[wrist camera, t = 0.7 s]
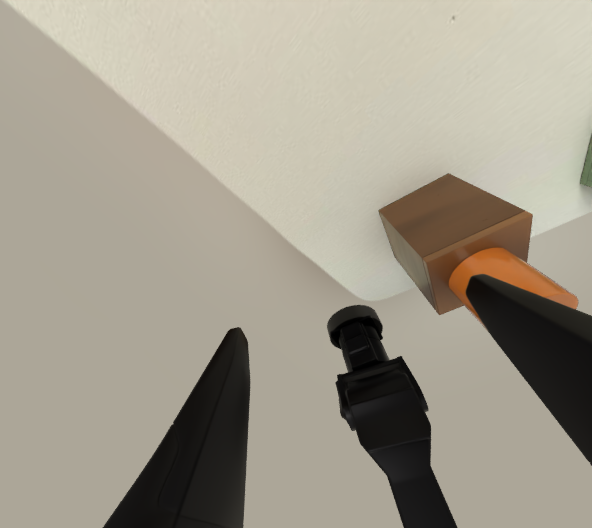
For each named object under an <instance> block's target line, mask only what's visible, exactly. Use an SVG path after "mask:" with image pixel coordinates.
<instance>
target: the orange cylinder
mask: <svg viewBox="0 0 592 528" xmlns="http://www.w3.org/2000/svg"><path fill="white" fill-rule="evenodd" d="M478 274H486V275H489V276H491V277H494V278H496V279H499V280H502V281H504V282H507V283H509V284H512V285H514V286H517V287H519V288H522V289H524V290H527V291H530V292H532V293H535V294H537V295H540V296H542V297H545V298H547V299H550V300H552V301H555V302H558V303H560V304H563V305H565V306H568V307H570V308H573V309H575V310H576V308H577V306H578V299H577V297H576V296H575V295H574V294H572V293H571V292H569V291H568V290H566V289H565V288H563V287H562V286H560V285H559V284H557V283H556V282H555V281H553V280H552V279H550V278H549V277H547V276H546V275H544V274H543V273H541V272H540V271H538V270H537V269H535V268H534V267H532V266H531V265H529V264H528V263H527V262H525V261H524V260H522V259H521V258H519V257H518V256H516V255H515V254H513V253H512V252H510V251H509V250H507V249H505V248H500V247H495V248H488V249H485V250H482V251H479V252H477V253H475V254H473V255H471V256H470V257H468V258H467V259H465V260H464V261H463V262H462V263H460V264H459V265H458V266H457V267H456V269H455V270H454V271H453V273H452V274H451V276H450V279H449V288H450V290H451V291H452V293H453V294H454V295H455V296H456V297H457V298H458V299H459V300H460V301H461V302H462V304H463V305H464V306H465V307H466V308H467V309H468V310H469V311H470V312H471V313H472V314H473V316H474V317H475V318H476V319H477V320H478V321H479V322H480V323H481V324H482V325H483V327H484V328H485V329H486V327H485V326H484V324H483V322H482V321H481V319H480V318H479V316H478V314H477V313H476V311H475V310H474V308H473V306H472V305H471V303H470V301H469V300H468V298H467V296H466V293H465V291H466V288H467V285H468V282H469V279H470V277H471V276H473V275H478ZM486 330H487V329H486ZM487 331H488V330H487Z"/></svg>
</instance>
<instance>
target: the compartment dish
mask: <svg viewBox="0 0 592 528" xmlns="http://www.w3.org/2000/svg"><path fill="white" fill-rule="evenodd" d="M580 184H583V185H586V186H589V187H592V137H591V141H590V145H589V149H588V153H587V157H586V161H585V165H584V169H583V173H582V178H581V182H580Z"/></svg>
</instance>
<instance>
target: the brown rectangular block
mask: <svg viewBox="0 0 592 528" xmlns="http://www.w3.org/2000/svg"><path fill="white" fill-rule="evenodd" d="M379 214H380V216H381V219H382V222H383V225H384V228H385V230H386V233H387V236H388V239H389V242H390V245H391V247H392V250H393V253H394V256H395V258H396V259H397V261H398V262H399V263H400V265H401V266H402V267H403V268H404V270H405V271H406V272H407V274H408V275H409V276H410V278H411V279H412V280H413V282H414V283H415V284H416V285H417V287H418V288H419V289H420V291H421V292H422V293H423V295H424V296H425V297H426V299H427V300H428V301H429V302H430V304H431V305H432V306H433V308H434V309H435V310H436V312H437V313H438V314H439V315H441V314H444V313H446V312H449V311H451V310H454V309H456V308H459V307H461V306H464V305H463V304H462V302H461V301H460V300H459V299H458V298H457V297H456V296H455V295H454V294H453V293H452V291H451V290H450V288H449V279H450V276H451V274H452V273H453V271H454V270H455V269H456V267H457V266H458V265H459V264H460V263H462V262H463V261H464V260H465V259H467V258H468V257H470V256H471V255H473V254H475V253H477V252H479V251H482V250H485V249H488V248H495V247H500V248H505V249H507V250H509V251H510V252H512V253H513V254H515V255H516V256H518V257H519V258H521V259H522V260H524V261H525V262H527V258H528V250H529V242H530V233H531V225H532V217H533V215H532V214H531V213H529V212H527V211H525V210H523V209H521V208H519V207H517V206H515V205H513V204H511V203H508V202H506V201H504V200H502V199H500V198H498V197H496V196H494V195H492V194H490V193H488V192H486V191H484V190H482V189H480V188H478V187H476V186H473V185H471V184H469V183H467V182H465V181H463V180H461V179H459V178H457V177H455V176H453V175H451V174H447V175H445V176H443V177H441V178H439V179H437V180H435V181H433V182H431V183H430V184H428V185H426V186H424V187H422V188H420V189H418V190H416V191H414V192H412V193H410V194H409V195H407V196H405V197H403V198H401V199H399V200H397V201H395V202H393V203H391V204H390V205H388V206H386V207H384V208H382V209H380V210H379Z"/></svg>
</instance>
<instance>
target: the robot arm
mask: <svg viewBox="0 0 592 528" xmlns="http://www.w3.org/2000/svg"><path fill="white" fill-rule="evenodd" d="M465 293H466V296H467V298H468V300H469V301H470V303H471V305H472V306H473V308H474V310H475V311H476V313H477V314H478V316H479V318H480V319H481V321H482V322H483V324H484V326H485V327H486V329H487V330H488V332H489V333H490V334H491V336H492V337H493V338H494V340H495V341H496V342H497V344H498V345H499V346H500V347H501V349H502V350H503V351H504V353H505V354H506V355H507V357H508V358H509V359H510V360H511V362H512V363H513V364H514V366H515V367H516V368H517V369H518V371H519V372H520V373H521V375H522V376H523V377H524V379H525V380H526V381H527V382H528V384H529V385H530V386H531V387H532V389H533V390H534V391H535V393H536V394H537V395H538V397H539V398H540V399H541V400H542V402H543V403H544V404H545V406H546V407H547V408H548V409H549V411H550V412H551V413H552V415H553V416H554V417H555V419H556V420H557V421H558V423H559V424H560V425H561V426H562V428H563V429H564V430H565V432H566V433H567V434H568V435H569V437H570V438H571V439H572V441H573V442H574V443H575V444H576V446H577V447H578V448H579V450H580V451H581V452H582V453H583V455H584V456H585V457H586V459H587V460H588V461H589V462H590V464H591V465H592V316H591V315H588V314H585V313H583V312H580V311H578V310H575V309H573V308H570V307H568V306H565V305H563V304H560V303H558V302H555V301H552V300H550V299H547V298H545V297H542V296H540V295H537V294H535V293H532V292H530V291H527V290H524V289H522V288H519V287H517V286H514V285H512V284H509V283H507V282H504V281H502V280H499V279H496V278H494V277H491V276H489V275H486V274H478V275H473V276H471V277H470V279H469V282H468V285H467V288H466V291H465ZM330 336H331V337H332V339H333V340H334V341H335V342H336V343H337V345H338V346H339V347H340V348H341V350H342V353H343V357H344V360H345V363H346V366H347V370H348V373H345V374H339V375H337V378H338V381H337V382H336V386H337V391H338V395H339V404H340V413H341V416H342V418H344V419H345V420H347V423H348V424H349V426H350V428H351V430H352V431H355V430H356V432H357V435H358V438H359V441H360V444H361V445H362V446H363V448H364V449H365V450H366V451H367V452H368V453H369V455H370V456H371V457H372V458H373V459H374V461H375V462H376V463H377V464H378V465H379V467H380V468H381V469H382V470H383V471H384V473H385V474H386V475H387V477H388V480H389V483H390V486H391V489H392V492H393V495H394V499H395V502H396V505H397V508H398V511H399V514H400V517H401V520H402V523H403V526H404V528H457V526H456V523H455V521H454V519H453V516H452V514H451V512H450V510H449V507H448V505H447V503H446V501H445V498H444V496H443V494H442V491H441V489H440V487H439V484H438V482H437V480H436V477H435V475H434V473H433V471H432V468H431V466H430V456H431V454H430V453H431V425H430V422H429V420H428V418H427V416H426V413H425V412H426V411H428V406H427V403H426V401H425V398H424V396H423V394H422V391H421V389H420V387H419V385H418V383H417V381H416V380H415V378H414V376H413V375H412V373H411V371H410V370H409V368H408V366H407V365H406V363H405V361H404V360H403V358H402V356H400V357H397V358H395V359H392V360H389V358H388V356H387V354H386V352H385V349H384V347H383V345H382V343H381V341H380V340H382V339H383V336H382V334H381V333H380V331H379V329H378V327H377V325H376V324H375V322H374V320H373V318H372V317H371V316H370V315H368V316H365V317H363V318H361V319H358V320H356V321H354V322H351V323H349V324H347V325H344V326H342V327H340V328H337V329H335V330H333V331H331V332H330ZM249 400H250V370H249V354H248V342H247V339H246V337H245V335H244V333H243V331H242V330H241V328H239V327H237V328H234V329H230V330H229V331H228V332H227V334H226V336H225V337H224V339H223V341H222V342H221V344H220V346H219V347H218V349H217V351H216V352H215V354H214V356H213V357H212V359H211V360H210V362H209V364H208V365H207V367H206V369H205V371H204V372H203V374H202V375H201V377H200V379H199V380H198V382H197V384H196V385H195V387H194V389H193V390H192V392H191V394H190V395H189V397H188V399H187V400H186V402H185V404H184V405H183V407H182V409H181V410H180V412H179V414H178V415H177V417H176V419H175V420H174V422H173V423H174V424H173V425H171V427H170V429H169V430H168V432H167V434H166V435H165V437H164V438H163V440H162V442H161V443H160V445H159V447H158V448H157V450H156V451H155V453H154V454H153V456H152V458H151V459H150V460H149V462H148V463H147V465H146V466H145V468H144V469H143V471H142V472H141V474H140V475H139V477H138V478H137V480H136V481H135V483H134V484H133V485H132V487H131V488H130V490H129V491H128V492H127V494H126V495H125V497H124V498H123V500H122V501H121V502H120V504H119V505H118V507H117V508H116V510H115V511H114V513H113V514H112V515H111V517H110V518H109V520H108V521H107V522H106V524H105V525H104V527H103V528H243V519H244V500H245V499H244V498H245V480H246V460H247V439H248V420H249Z"/></svg>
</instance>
